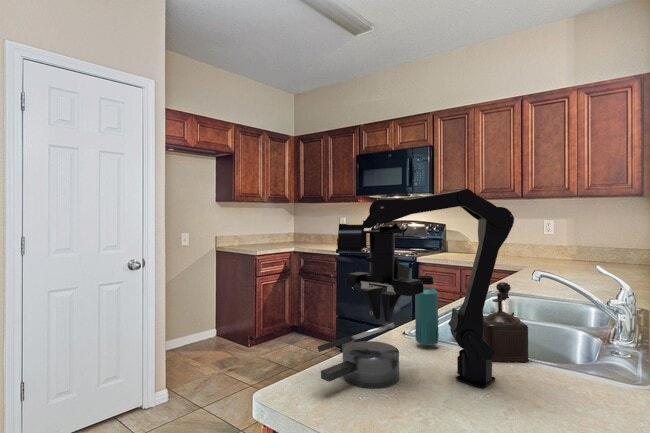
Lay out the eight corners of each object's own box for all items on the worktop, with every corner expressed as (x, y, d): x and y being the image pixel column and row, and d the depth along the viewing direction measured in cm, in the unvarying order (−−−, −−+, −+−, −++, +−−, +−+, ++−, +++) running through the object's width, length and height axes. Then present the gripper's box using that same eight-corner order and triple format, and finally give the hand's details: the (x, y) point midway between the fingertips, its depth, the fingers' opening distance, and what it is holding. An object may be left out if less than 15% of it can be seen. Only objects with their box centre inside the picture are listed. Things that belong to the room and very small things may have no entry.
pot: (410, 376, 90) (410, 350, 90) (348, 407, 76) (347, 376, 76) (364, 360, 101) (364, 337, 100) (301, 385, 86) (301, 358, 86)
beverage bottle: (439, 351, 107) (439, 278, 107) (415, 349, 108) (414, 277, 108) (437, 343, 113) (437, 274, 113) (414, 342, 115) (414, 273, 114)
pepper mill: (532, 363, 98) (532, 291, 98) (487, 362, 99) (486, 291, 99) (508, 343, 113) (508, 281, 113) (469, 342, 114) (469, 280, 114)
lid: (406, 323, 91) (404, 318, 92) (343, 344, 77) (341, 338, 77) (367, 335, 100) (365, 331, 100) (303, 356, 85) (302, 351, 86)
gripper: (436, 252, 89) (437, 321, 89) (373, 248, 103) (373, 307, 103) (408, 256, 82) (408, 331, 82) (343, 251, 95) (344, 315, 95)
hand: (382, 320), depth 91 cm, fingers open, 3 cm apart
